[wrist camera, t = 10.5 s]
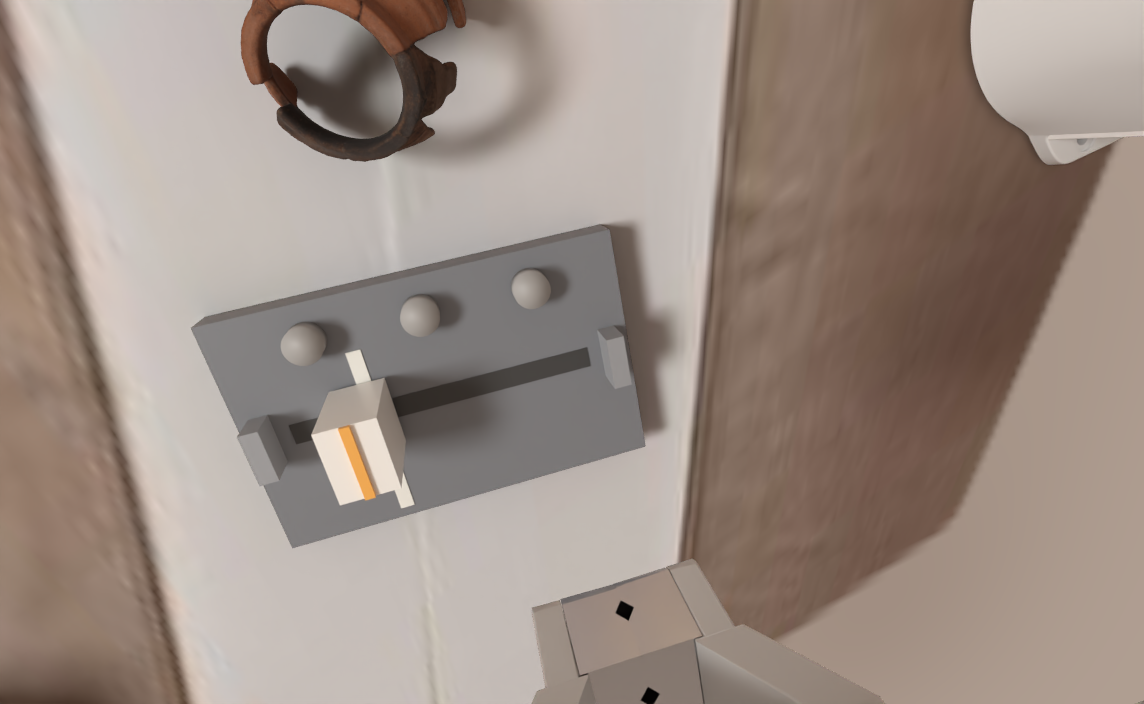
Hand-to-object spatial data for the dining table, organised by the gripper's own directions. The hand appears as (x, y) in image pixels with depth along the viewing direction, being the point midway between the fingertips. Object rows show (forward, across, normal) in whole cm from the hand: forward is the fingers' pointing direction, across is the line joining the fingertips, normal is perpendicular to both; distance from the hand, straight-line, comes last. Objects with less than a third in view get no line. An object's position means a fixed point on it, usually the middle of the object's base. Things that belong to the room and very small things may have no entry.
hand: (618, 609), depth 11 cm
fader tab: (+23, +9, +5) cm, 25 cm away
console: (+26, +4, +5) cm, 27 cm away
